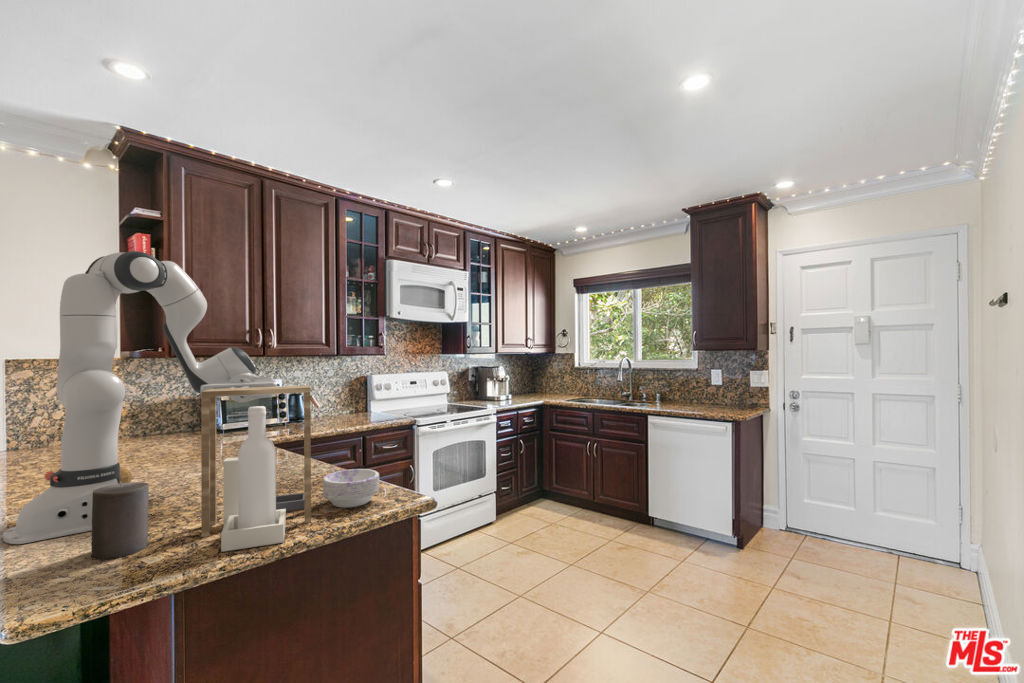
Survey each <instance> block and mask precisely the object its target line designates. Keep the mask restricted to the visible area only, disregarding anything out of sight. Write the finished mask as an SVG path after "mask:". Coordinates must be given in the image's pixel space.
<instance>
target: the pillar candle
mask: <svg viewBox="0 0 1024 683" xmlns="http://www.w3.org/2000/svg"><path fill="white" fill-rule="evenodd" d="M149 486H150V484H149V483H148V482H142V481H130V482H129V483H121V481H120V484H113V485H108V486H104V487H100V488H97V489H95V490H94V491H93V498H92V530H91V539H90V540H91V543H90V546H91V555H90V558H92V559H94V560H98V561H99V560H112V559H117V558H123V557H126V556H130V555H132V554H137V553H138V552H141V551H143V550H145V549H146V548H147V547H148V543H149V542H148V540H149V539H148V537H149V536H148V535H149V494H150V493H149V489H150V488H149Z"/></svg>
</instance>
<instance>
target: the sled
mask: <svg viewBox="0 0 1024 683" xmlns="http://www.w3.org/2000/svg"><path fill="white" fill-rule="evenodd" d="M222 466H223V467H222V469H223V470H222V471H223V472H222V474H223V475H222V478H223V479H222V480H223V481H222V483H223V488H222V490H223V493H222V495H223V496H222V497H223V498H222V499H223V501H222V505H223V506H222V507H223V510H222V511H223V512H222V513H223V514H222V516H223V517H222V518H223V522H222V523H223V524H222V525H223V528H222V531H221V533H220V534H221V535H220V536H221V538H220V539H221V540H220V546H221V547H220V548H221V550H220V552H221V553H222V552H223V553H224V552H229V551H235V550H242V549H248V548H255V547H262V546H269V545H275V544H280V543H281V544H282V543H284V542H285V536H286V535H285V533H286V526H287V524H286V523H287V520H286V519H287V518H286V517H287V514H286V512H287V511H286V509H279V510H276V521H277V524H271V525H264V526H257V527H250V528H243V529H238V456H237V457H235V456H234V457H226V458H225V459H224V460H223V462H222Z"/></svg>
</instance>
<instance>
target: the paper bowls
mask: <svg viewBox="0 0 1024 683" xmlns="http://www.w3.org/2000/svg"><path fill="white" fill-rule="evenodd" d="M379 491H380V473H379V472H378V471H376V470H374V469H369V468H352V469H343V470H339V471H338V470H337V471H334V472H331V473H328V474H326V475H324V477H322V496H323V498H324V499H327V500H329V501H330V502H331V504H332V505H333V506H334V507H337V508H343V509H346V508H348V509H350V508H356V507H360V506H363V505H366V504H368V503H369V502H370V501H371V500H372V498H373V496H374V495H375V494H377V493H378V492H379Z"/></svg>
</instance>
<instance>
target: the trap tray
mask: <svg viewBox="0 0 1024 683" xmlns="http://www.w3.org/2000/svg"><path fill="white" fill-rule="evenodd" d="M279 509H286V512H291V511H299V510H305V494H304V492H300V493H299V492H296V493H289V494H280V495H276V510H279Z"/></svg>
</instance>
